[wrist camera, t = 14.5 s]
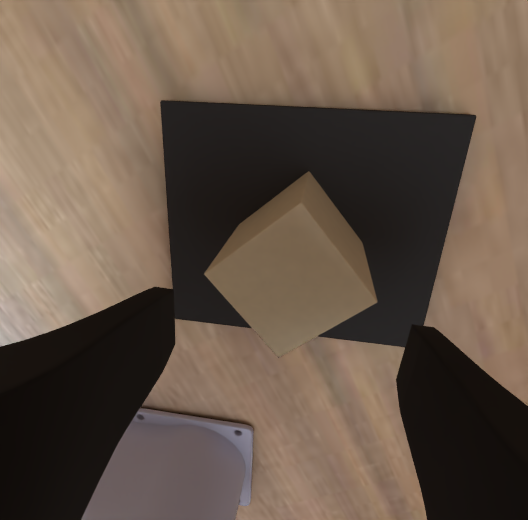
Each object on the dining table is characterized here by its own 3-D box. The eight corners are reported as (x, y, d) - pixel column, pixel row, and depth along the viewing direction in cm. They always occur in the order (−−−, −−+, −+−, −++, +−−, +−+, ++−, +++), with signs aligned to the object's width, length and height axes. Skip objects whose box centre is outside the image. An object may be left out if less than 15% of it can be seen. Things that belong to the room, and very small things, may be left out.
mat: (177, 313, 23) (174, 319, 22) (164, 100, 18) (159, 100, 17) (415, 342, 21) (417, 349, 20) (472, 114, 16) (477, 115, 15)
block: (291, 288, 20) (278, 358, 15) (238, 224, 19) (203, 274, 14) (362, 243, 18) (378, 302, 13) (308, 170, 17) (301, 202, 12)
